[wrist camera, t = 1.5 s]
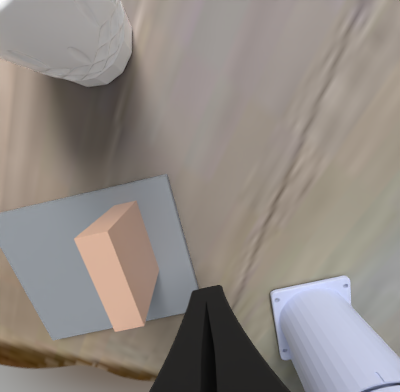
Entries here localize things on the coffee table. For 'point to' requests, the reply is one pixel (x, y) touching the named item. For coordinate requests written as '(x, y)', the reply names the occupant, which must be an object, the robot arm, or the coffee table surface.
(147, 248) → the block
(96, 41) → the white cup
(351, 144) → the coffee table surface
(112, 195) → the felt mat
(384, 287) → the coffee table surface
